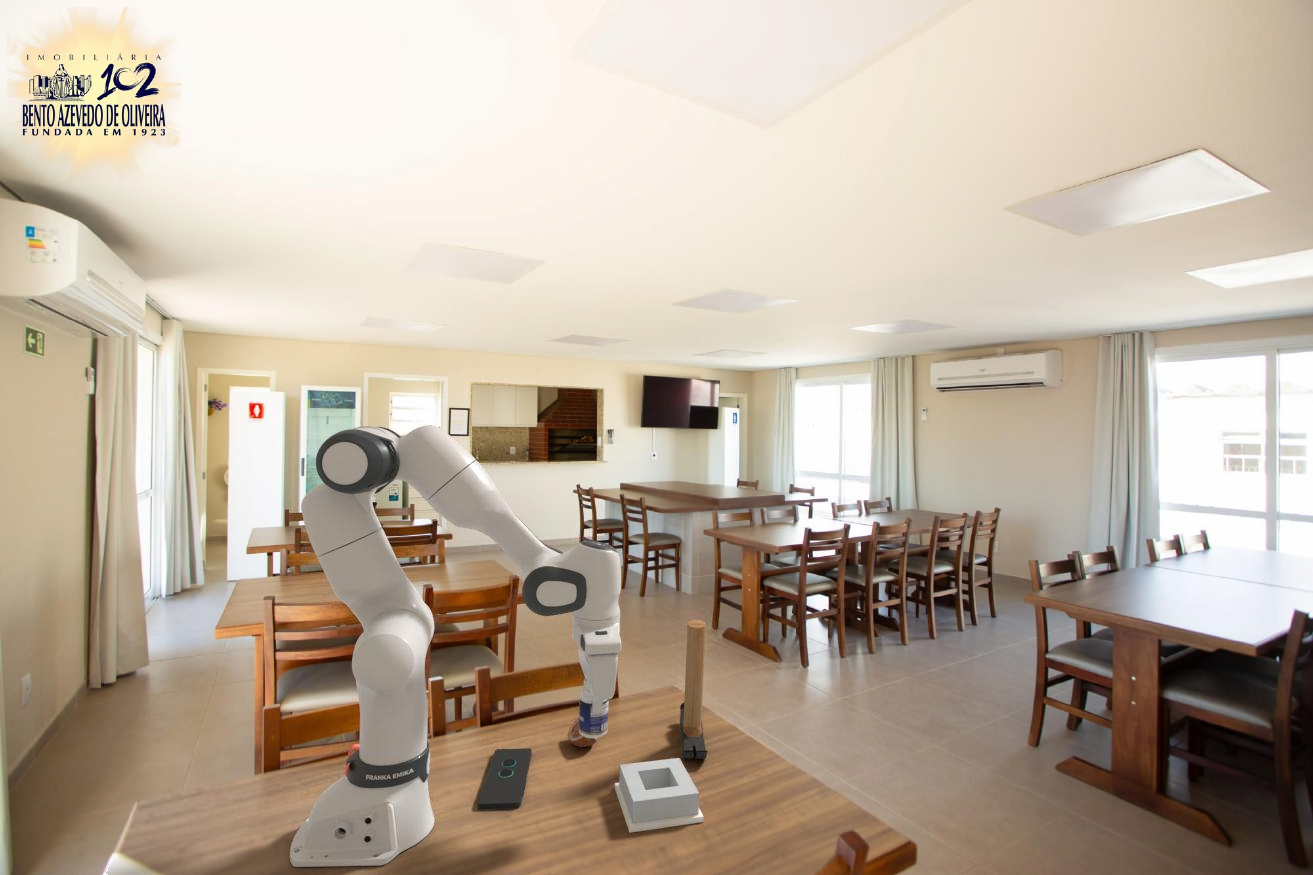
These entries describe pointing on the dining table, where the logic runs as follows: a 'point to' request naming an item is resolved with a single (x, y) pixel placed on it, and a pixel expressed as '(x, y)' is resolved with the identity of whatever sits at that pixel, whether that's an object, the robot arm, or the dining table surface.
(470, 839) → the dining table surface
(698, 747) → the hammer
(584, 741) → the fruit slice
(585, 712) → the pill bottle
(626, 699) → the dining table surface
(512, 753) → the smart home device
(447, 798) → the dining table surface
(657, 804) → the socket block
